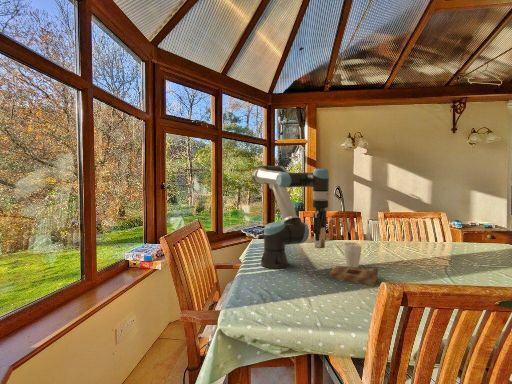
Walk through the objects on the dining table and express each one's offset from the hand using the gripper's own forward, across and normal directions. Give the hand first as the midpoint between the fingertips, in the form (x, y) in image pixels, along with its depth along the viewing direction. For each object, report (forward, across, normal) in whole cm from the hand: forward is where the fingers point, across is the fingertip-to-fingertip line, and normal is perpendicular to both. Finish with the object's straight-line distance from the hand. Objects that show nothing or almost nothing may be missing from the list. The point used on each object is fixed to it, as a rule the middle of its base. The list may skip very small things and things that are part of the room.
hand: (319, 245), depth 145 cm
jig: (+14, +3, -16) cm, 22 cm away
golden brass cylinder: (+1, 0, 0) cm, 1 cm away
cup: (+15, +22, -12) cm, 29 cm away
